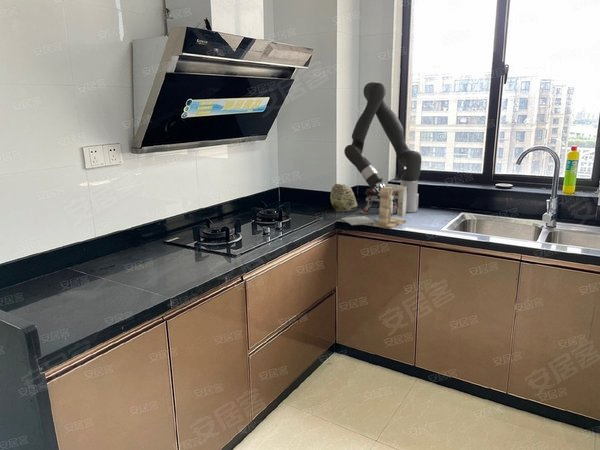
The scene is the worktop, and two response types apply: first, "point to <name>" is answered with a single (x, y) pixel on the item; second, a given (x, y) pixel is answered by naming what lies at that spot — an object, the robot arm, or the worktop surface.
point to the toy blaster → (373, 198)
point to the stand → (387, 210)
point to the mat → (358, 220)
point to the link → (399, 198)
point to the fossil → (342, 198)
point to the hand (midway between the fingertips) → (391, 202)
